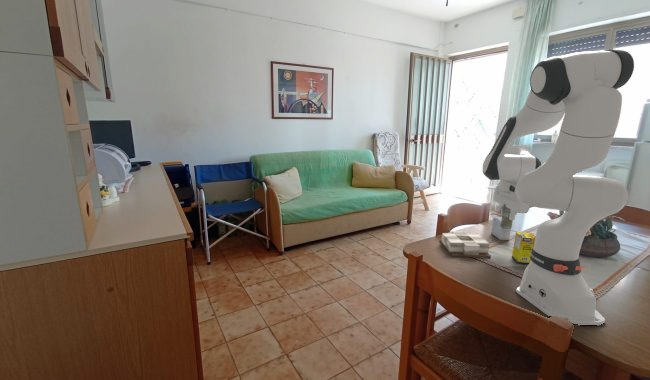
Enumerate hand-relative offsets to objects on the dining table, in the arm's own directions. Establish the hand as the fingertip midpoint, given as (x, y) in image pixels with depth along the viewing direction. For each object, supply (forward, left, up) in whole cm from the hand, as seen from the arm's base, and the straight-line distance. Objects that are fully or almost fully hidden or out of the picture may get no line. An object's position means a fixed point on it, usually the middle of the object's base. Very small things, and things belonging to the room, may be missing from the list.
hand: (507, 217), depth 123 cm
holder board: (+1, +16, -15) cm, 22 cm away
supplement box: (-9, -3, -15) cm, 18 cm away
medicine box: (+16, -7, -15) cm, 23 cm away
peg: (0, 0, -4) cm, 4 cm away
